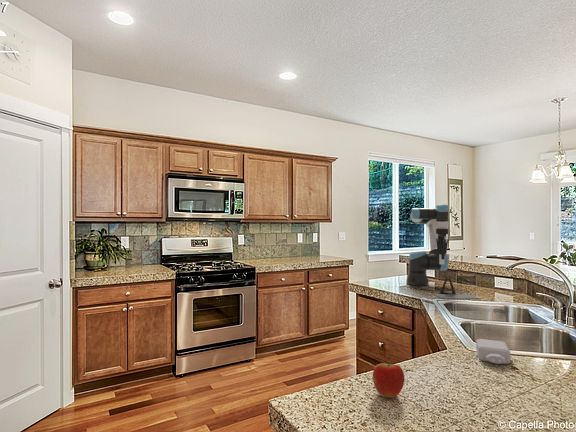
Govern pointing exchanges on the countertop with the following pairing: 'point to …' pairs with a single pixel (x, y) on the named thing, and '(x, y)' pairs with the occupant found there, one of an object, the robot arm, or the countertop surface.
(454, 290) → the phone stand
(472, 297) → the mat
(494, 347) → the charger
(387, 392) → the apple
